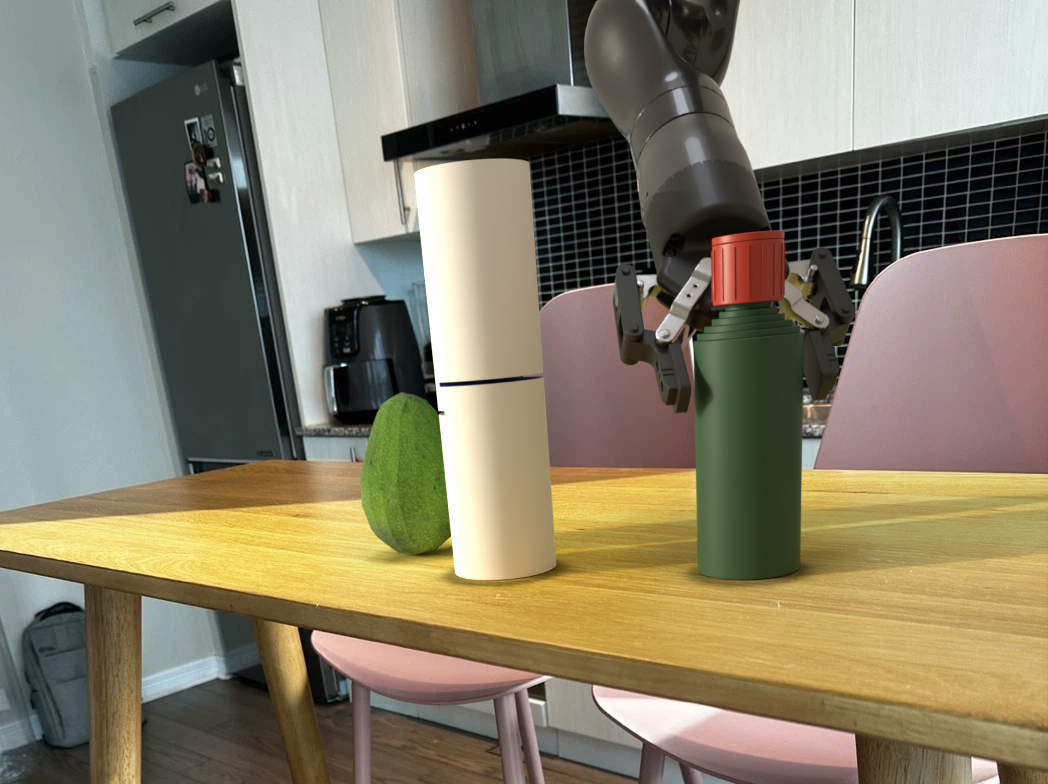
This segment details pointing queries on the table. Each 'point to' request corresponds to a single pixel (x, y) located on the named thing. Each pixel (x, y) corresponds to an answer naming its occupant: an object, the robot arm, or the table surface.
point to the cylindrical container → (488, 364)
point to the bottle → (748, 443)
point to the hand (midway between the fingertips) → (754, 397)
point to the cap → (748, 268)
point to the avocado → (406, 477)
